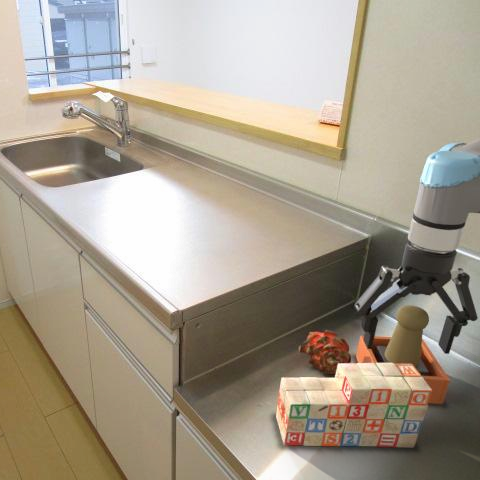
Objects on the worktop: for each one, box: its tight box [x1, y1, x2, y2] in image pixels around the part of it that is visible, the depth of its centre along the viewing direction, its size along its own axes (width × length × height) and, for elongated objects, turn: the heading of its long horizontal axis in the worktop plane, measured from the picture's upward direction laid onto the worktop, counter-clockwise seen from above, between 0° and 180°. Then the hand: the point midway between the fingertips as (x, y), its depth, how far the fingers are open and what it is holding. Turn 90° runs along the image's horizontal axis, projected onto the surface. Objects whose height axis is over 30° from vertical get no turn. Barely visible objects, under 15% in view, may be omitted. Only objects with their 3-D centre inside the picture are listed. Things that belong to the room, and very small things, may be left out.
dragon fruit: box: [298, 329, 352, 376], centre depth 90 cm, size 8×8×12 cm
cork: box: [384, 304, 430, 368], centre depth 83 cm, size 6×6×11 cm
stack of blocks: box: [275, 362, 432, 448], centre depth 74 cm, size 21×6×12 cm, turn 89°
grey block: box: [375, 346, 429, 376], centre depth 87 cm, size 7×7×4 cm
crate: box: [355, 335, 451, 405], centre depth 87 cm, size 12×12×6 cm
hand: (405, 347), depth 85 cm, fingers open, 13 cm apart
